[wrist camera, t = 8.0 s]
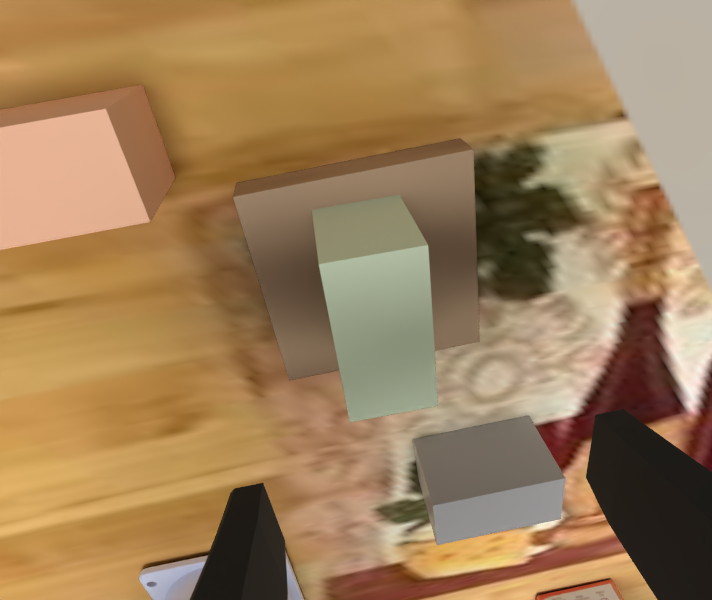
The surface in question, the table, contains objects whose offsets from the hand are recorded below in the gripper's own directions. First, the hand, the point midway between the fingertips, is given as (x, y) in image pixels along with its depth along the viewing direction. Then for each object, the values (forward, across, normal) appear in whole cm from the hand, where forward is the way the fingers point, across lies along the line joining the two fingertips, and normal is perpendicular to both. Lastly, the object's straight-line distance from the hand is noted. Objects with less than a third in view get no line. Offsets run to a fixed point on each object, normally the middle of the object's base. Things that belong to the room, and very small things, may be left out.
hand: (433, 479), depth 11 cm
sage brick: (+9, 0, 0) cm, 9 cm away
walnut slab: (+11, 0, 0) cm, 11 cm away
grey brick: (+11, -4, +12) cm, 17 cm away
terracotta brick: (+11, +9, -6) cm, 15 cm away
